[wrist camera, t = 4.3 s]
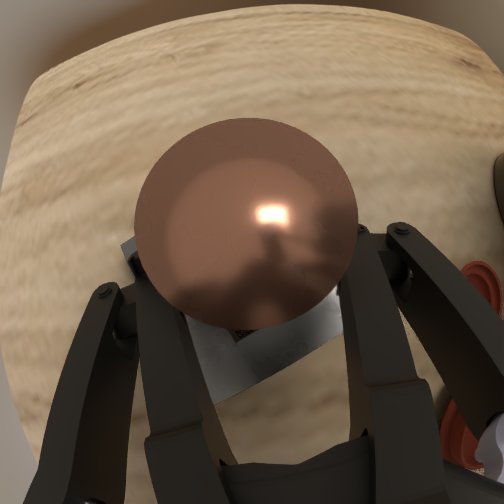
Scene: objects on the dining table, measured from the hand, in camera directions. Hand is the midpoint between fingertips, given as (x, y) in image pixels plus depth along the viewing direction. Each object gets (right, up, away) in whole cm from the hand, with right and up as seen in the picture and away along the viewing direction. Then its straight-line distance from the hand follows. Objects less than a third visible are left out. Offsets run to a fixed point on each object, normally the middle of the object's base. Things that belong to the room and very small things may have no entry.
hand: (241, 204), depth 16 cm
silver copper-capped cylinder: (+1, -4, +3) cm, 6 cm away
